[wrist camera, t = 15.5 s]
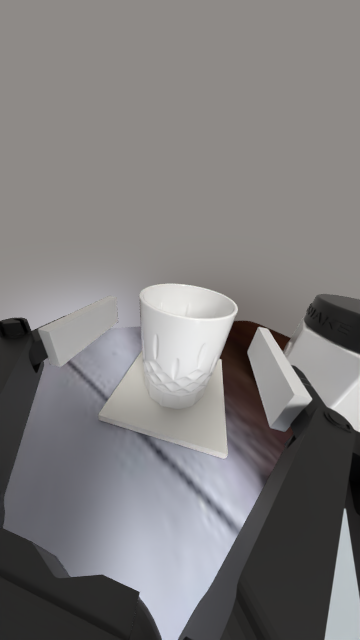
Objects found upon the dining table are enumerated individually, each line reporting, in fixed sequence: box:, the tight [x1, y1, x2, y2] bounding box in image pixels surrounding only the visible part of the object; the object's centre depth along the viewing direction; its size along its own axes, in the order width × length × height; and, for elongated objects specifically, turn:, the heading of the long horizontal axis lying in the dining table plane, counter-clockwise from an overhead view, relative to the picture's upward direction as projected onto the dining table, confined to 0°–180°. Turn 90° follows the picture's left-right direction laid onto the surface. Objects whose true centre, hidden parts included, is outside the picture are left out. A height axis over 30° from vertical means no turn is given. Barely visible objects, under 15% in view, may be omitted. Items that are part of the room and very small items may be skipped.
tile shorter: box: [98, 351, 228, 459], centre depth 17 cm, size 11×11×1 cm
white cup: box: [140, 284, 238, 410], centre depth 15 cm, size 8×8×10 cm
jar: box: [283, 294, 360, 432], centre depth 15 cm, size 9×8×12 cm
